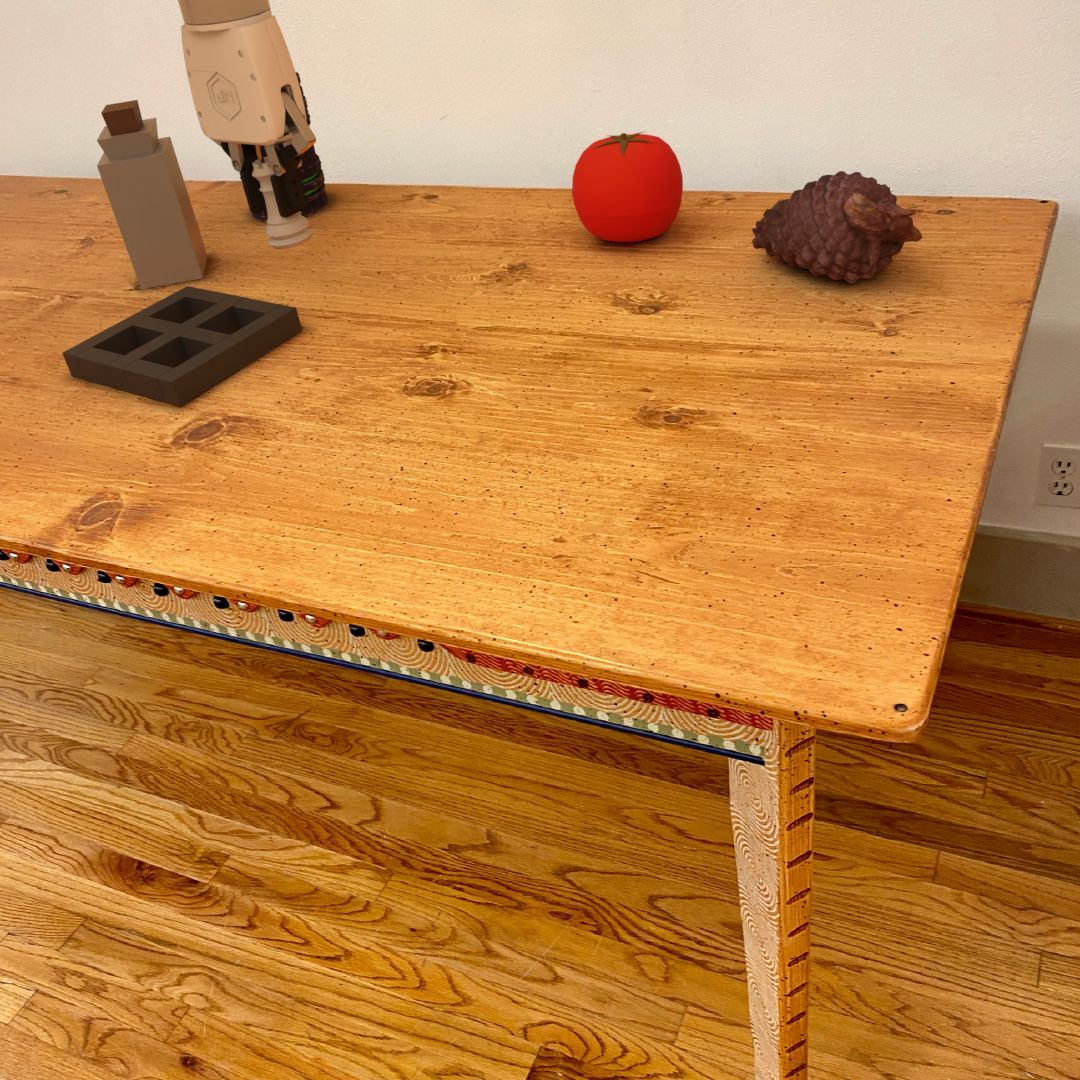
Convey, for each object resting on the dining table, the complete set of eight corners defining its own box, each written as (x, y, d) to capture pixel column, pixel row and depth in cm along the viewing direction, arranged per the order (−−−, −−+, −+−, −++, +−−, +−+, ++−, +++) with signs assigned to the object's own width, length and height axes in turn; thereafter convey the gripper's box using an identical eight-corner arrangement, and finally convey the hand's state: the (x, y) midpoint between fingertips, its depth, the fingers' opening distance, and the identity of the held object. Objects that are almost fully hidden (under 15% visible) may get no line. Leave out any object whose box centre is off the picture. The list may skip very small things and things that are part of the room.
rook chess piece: (261, 246, 107) (233, 166, 103) (298, 230, 109) (273, 150, 105) (284, 253, 104) (257, 170, 100) (322, 236, 106) (297, 154, 102)
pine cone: (720, 279, 103) (731, 172, 102) (783, 296, 109) (794, 195, 109) (886, 268, 90) (900, 144, 89) (947, 287, 96) (961, 172, 95)
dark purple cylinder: (319, 187, 140) (290, 65, 131) (339, 208, 133) (309, 80, 124) (243, 206, 138) (208, 83, 129) (259, 228, 130) (223, 99, 121)
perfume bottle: (207, 256, 125) (156, 92, 114) (202, 278, 119) (148, 109, 109) (148, 266, 124) (91, 103, 114) (141, 289, 119) (80, 120, 108)
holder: (71, 376, 103) (61, 352, 101) (194, 308, 113) (187, 285, 111) (180, 407, 95) (171, 382, 94) (302, 331, 105) (296, 307, 103)
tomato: (684, 211, 118) (680, 111, 112) (685, 255, 109) (680, 148, 102) (581, 219, 120) (571, 121, 114) (573, 263, 110) (562, 159, 104)
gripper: (129, 13, 96) (193, 216, 107) (260, 14, 88) (315, 234, 98) (193, -7, 101) (248, 189, 111) (323, -7, 92) (368, 205, 103)
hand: (278, 208), depth 105 cm, fingers closed on rook chess piece, 3 cm apart
